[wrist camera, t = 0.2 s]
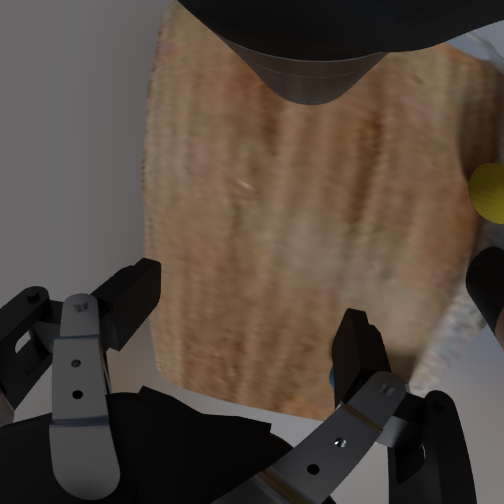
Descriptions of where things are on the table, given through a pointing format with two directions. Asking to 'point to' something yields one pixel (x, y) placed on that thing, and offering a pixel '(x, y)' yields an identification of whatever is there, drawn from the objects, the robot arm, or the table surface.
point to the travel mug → (489, 288)
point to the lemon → (488, 191)
